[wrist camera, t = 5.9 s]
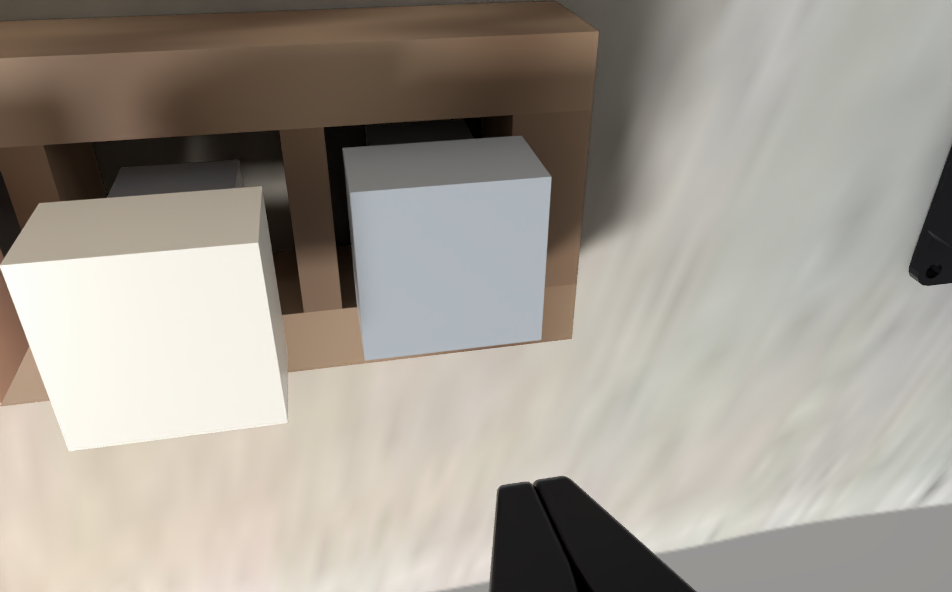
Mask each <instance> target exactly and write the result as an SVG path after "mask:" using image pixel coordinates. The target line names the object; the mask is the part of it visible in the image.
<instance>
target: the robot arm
mask: <svg viewBox="0 0 952 592" xmlns="http://www.w3.org/2000/svg"><path fill="white" fill-rule="evenodd" d="M909 274H910V276H911V277H912V278H914V279H915V280H916V281H918V282H919V283H921V284H922V285H926V286H930V285H939V284H947V283H952V147H951V150H950V153H949V155H948V158H947V161H946V164H945V167H944V170H943V172H942V175H941V178H940V181H939V184H938V187H937V189H936V192H935V195H934V198H933V201H932V203H931V206H930V209H929V212H928V215H927V218H926V220H925V223H924V226H923V229H922V232H921V235H920V237H919V240H918V243H917V246H916V249H915V252H914V254H913V257H912V260H911V263H910V266H909ZM489 592H696V591H695V590H694V589H693V588H692V587H691V586H690V585H688V584H687V583H686V582H685V581H684V580H683V579H682V578H681V577H680V576H678V575H677V574H676V573H675V572H674V571H673V570H672V569H671V568H669V567H668V566H667V565H666V564H665V563H664V562H663V561H661V560H660V559H659V558H658V557H657V556H656V555H655V554H654V553H653V552H652V551H650V550H649V549H648V548H647V547H646V546H645V545H644V544H643V543H642V542H640V541H639V540H638V539H637V538H636V537H635V536H634V535H633V534H631V533H630V532H629V531H628V530H627V529H626V528H625V527H624V526H623V525H621V524H620V523H619V522H618V521H617V520H616V519H615V518H614V517H612V516H611V515H610V514H609V513H608V512H607V511H606V510H605V509H604V508H602V507H601V506H600V505H599V504H598V503H597V502H596V501H595V500H593V499H592V498H591V497H590V496H589V495H588V494H587V493H586V492H584V491H583V490H582V489H581V488H580V487H579V486H578V485H577V484H576V483H574V482H573V481H572V480H571V479H570V478H568V477H565V476H559V477H552V478H546V479H539V480H536V481H535V482H534V483H533V485H532V484H531V483H530V482H520V483H513V484H507V485H502V486H500V487H499V488H498V490H497V499H496V511H495V523H494V535H493V547H492V559H491V571H490V583H489Z"/></svg>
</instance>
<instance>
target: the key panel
mask: <svg viewBox="0 0 952 592" xmlns="http://www.w3.org/2000/svg"><path fill="white" fill-rule="evenodd" d="M598 37H599V31H598V30H596V29H595V28H594V27H592V26H591V25H589V24H588V23H586V22H585V21H584V20H582V19H581V18H579V17H578V16H577V15H575V14H574V13H572V12H571V11H569V10H568V9H567V8H565V7H564V6H562V5H561V4H559V3H558V2H557V1H533V2H506V3H479V4H453V5H426V6H399V7H372V8H345V9H318V10H292V11H265V12H238V13H211V14H184V15H157V16H130V17H104V18H77V19H50V20H23V21H0V170H1V173H2V176H3V179H4V182H5V185H6V188H7V191H8V193H9V196H10V199H11V202H12V205H13V208H14V211H15V214H16V216H17V219H18V222H19V225H20V228H21V231H22V229H23V228H24V226H25V225H26V223H27V221H28V220H29V218H30V217H31V215H32V214H33V212H34V210H35V209H36V207H37V206H38V204H39V203H48V202H61V201H74V200H87V199H100V198H107V195H106V192H105V188H104V184H103V181H102V177H101V173H100V170H99V166H98V162H97V159H96V155H95V151H94V148H93V144H92V142H99V141H114V140H130V139H146V138H161V137H177V136H193V135H208V134H224V133H240V132H255V131H271V130H279V132H280V140H281V147H282V154H283V162H284V169H285V177H286V184H287V191H288V199H289V206H290V213H291V221H292V228H293V236H294V243H295V251H284V252H273V253H272V254H273V261H274V267H275V274H276V280H277V287H278V293H279V300H280V306H281V313H282V319H283V326H284V332H285V339H286V345H287V352H288V372H295V371H303V370H312V369H320V368H329V367H337V366H346V365H354V364H362V363H371V362H379V361H388V360H396V359H405V358H413V357H422V356H430V355H439V354H447V353H455V352H464V351H472V350H481V349H489V348H498V347H506V346H515V345H523V344H532V343H540V342H548V341H557V340H565V339H572V330H573V319H574V307H575V296H576V285H577V274H578V262H579V251H580V240H581V229H582V217H583V206H584V195H585V184H586V172H587V161H588V150H589V139H590V127H591V116H592V105H593V94H594V82H595V71H596V60H597V49H598ZM474 117H482V138H494V137H508V136H522V137H523V138H524V139H525V141H526V142H527V144H528V145H529V146H530V148H531V149H532V150H533V152H534V153H535V155H536V156H537V157H538V159H539V160H540V161H541V163H542V164H543V166H544V167H545V168H546V170H547V171H548V172H549V174H550V175H551V177H552V178H551V193H550V209H549V225H548V241H547V257H546V273H545V289H544V304H543V320H542V336H541V340H537V341H528V342H520V343H511V344H503V345H494V346H486V347H477V348H469V349H460V350H452V351H443V352H435V353H426V354H418V355H409V356H401V357H392V358H384V359H375V360H367V361H365V359H364V352H363V345H362V338H361V331H360V324H359V317H358V309H357V302H356V291H355V280H354V269H353V258H352V247H351V245H350V246H339V247H336V242H335V233H334V223H333V213H332V204H331V194H330V184H329V175H328V165H327V155H326V146H325V136H324V127H334V126H349V125H365V124H380V123H396V122H412V121H427V120H443V119H459V118H474ZM41 401H50V399H49V397H48V394H47V391H46V388H45V386H44V383H43V380H42V378H41V375H40V372H39V370H38V367H37V364H36V362H35V359H34V356H33V354H32V351H31V348H30V346H29V348H28V350H27V352H26V354H25V356H24V358H23V360H22V362H21V364H20V366H19V369H18V371H17V373H16V375H15V377H14V379H13V381H12V383H11V385H10V387H9V389H8V391H7V393H6V395H5V398H4V400H3V402H2V404H0V406H7V405H16V404H24V403H33V402H41Z"/></svg>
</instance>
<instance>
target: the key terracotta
mask: <svg viewBox="0 0 952 592" xmlns="http://www.w3.org/2000/svg"><path fill="white" fill-rule="evenodd" d="M20 233H21V228H20V225H19V222H18V219H17V216H16V214H15V211H14V208H13V205H12V202H11V199H10V196H9V193H8V191H7V188H6V185H5V182H4V179H3V176H2V173H1V170H0V264H1V262H2V261H3V259H4V258H5V256H6V255H7V253H8V251H9V250H10V248H11V247H12V245H13V244H14V242H15V240H16V239H17V237H18V236H19V234H20ZM28 348H29V343H28V340H27V338H26V335H25V332H24V330H23V327H22V324H21V322H20V319H19V316H18V314H17V311H16V308H15V306H14V303H13V300H12V298H11V295H10V292H9V290H8V287H7V284H6V281H5V279H4V276H3V273H2V271H1V268H0V404H2V402H3V400H4V398H5V395H6V393H7V391H8V389H9V387H10V385H11V383H12V381H13V379H14V377H15V375H16V373H17V371H18V369H19V366H20V364H21V362H22V360H23V358H24V356H25V354H26V352H27V350H28Z"/></svg>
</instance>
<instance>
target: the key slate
mask: <svg viewBox="0 0 952 592" xmlns="http://www.w3.org/2000/svg"><path fill="white" fill-rule="evenodd" d="M365 135H366V146H363V147H349V148H343V159H344V170H345V181H346V192H347V203H348V214H349V225H350V236H351V247H352V258H353V269H354V280H355V291H356V302H357V309H358V317H359V324H360V331H361V338H362V345H363V352H364V359H365V361H367V360H375V359H384V358H392V357H401V356H409V355H418V354H426V353H435V352H443V351H452V350H460V349H469V348H477V347H486V346H494V345H503V344H511V343H520V342H528V341H537V340H541V336H542V320H543V304H544V289H545V273H546V257H547V241H548V225H549V209H550V193H551V178H552V177H551V175H550V174H549V172H548V171H547V170H546V168H545V167H544V166H543V164H542V163H541V161H540V160H539V159H538V157H537V156H536V155H535V153H534V152H533V150H532V149H531V148H530V146H529V145H528V144H527V142H526V141H525V139H524V138H523V137H522V136H508V137H494V138H479V139H474V137H473V136H472V134H471V132H470V130H469V129H468V127H467V125H466V123H465V122H464V120H463V119H462V120H446V121H431V122H415V123H400V124H384V125H368V126H365Z"/></svg>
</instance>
